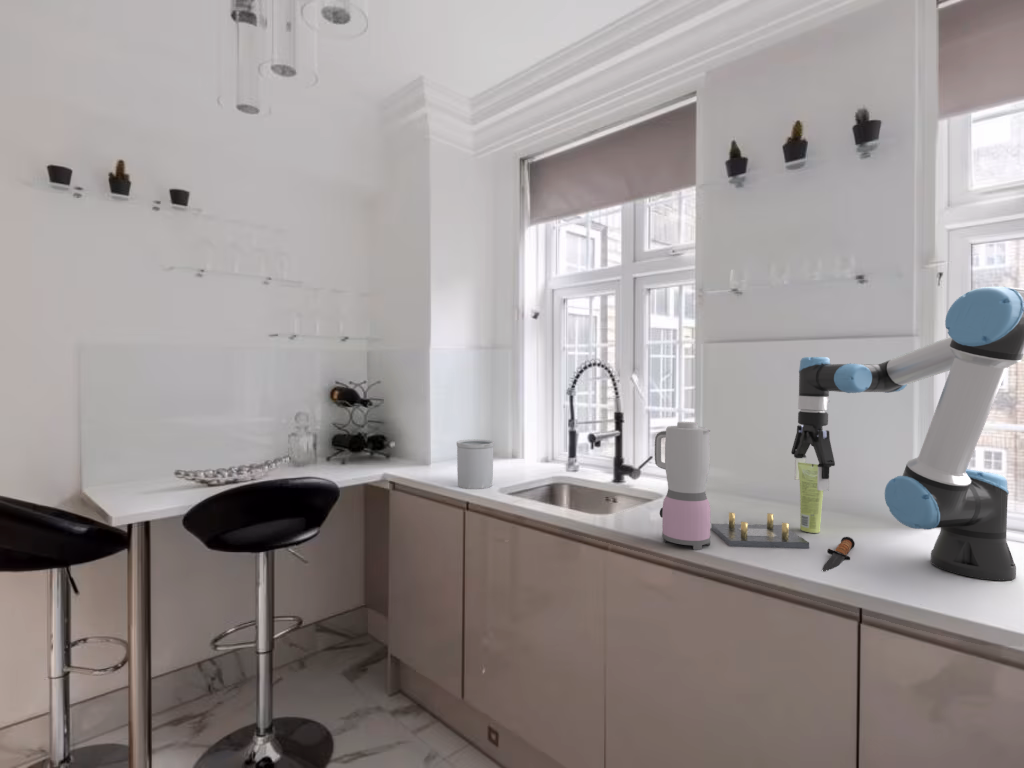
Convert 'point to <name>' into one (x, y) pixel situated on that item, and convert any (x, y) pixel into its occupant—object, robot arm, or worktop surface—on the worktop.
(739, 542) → the plate
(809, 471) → the tube
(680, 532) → the blender
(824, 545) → the worktop surface
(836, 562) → the knife
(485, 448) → the utensil holder
